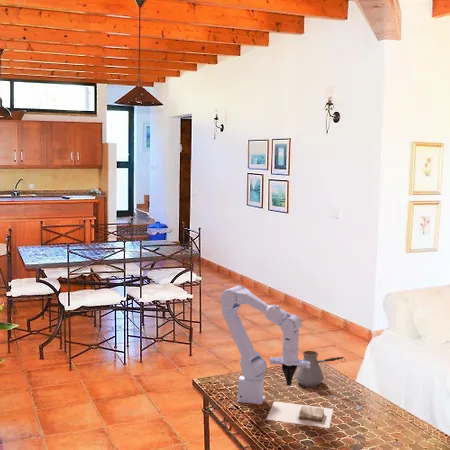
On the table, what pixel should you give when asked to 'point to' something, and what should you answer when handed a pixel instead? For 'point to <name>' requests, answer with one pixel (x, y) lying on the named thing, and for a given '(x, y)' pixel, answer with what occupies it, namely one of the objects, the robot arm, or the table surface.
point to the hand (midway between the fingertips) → (289, 384)
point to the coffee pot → (312, 370)
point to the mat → (296, 414)
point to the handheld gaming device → (356, 405)
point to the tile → (311, 414)
